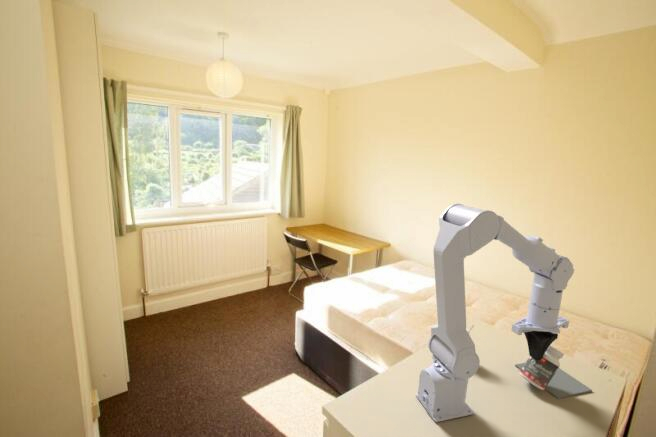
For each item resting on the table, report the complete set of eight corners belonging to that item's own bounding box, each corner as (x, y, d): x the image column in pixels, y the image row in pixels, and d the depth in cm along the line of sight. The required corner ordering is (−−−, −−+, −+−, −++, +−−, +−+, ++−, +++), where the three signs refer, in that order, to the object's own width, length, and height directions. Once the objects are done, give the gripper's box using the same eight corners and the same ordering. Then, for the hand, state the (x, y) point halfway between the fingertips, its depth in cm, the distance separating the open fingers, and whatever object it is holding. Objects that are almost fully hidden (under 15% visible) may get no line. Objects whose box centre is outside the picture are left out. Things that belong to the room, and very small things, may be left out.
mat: (557, 398, 73) (558, 397, 73) (514, 365, 84) (515, 364, 84) (591, 391, 75) (592, 389, 75) (545, 360, 87) (545, 359, 87)
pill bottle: (520, 376, 75) (542, 340, 74) (517, 371, 80) (538, 338, 79) (546, 393, 72) (569, 356, 72) (541, 387, 77) (563, 353, 77)
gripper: (534, 315, 66) (525, 373, 69) (586, 309, 70) (575, 363, 73) (507, 301, 73) (499, 353, 75) (556, 295, 77) (547, 346, 79)
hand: (535, 357), depth 74 cm, fingers closed
